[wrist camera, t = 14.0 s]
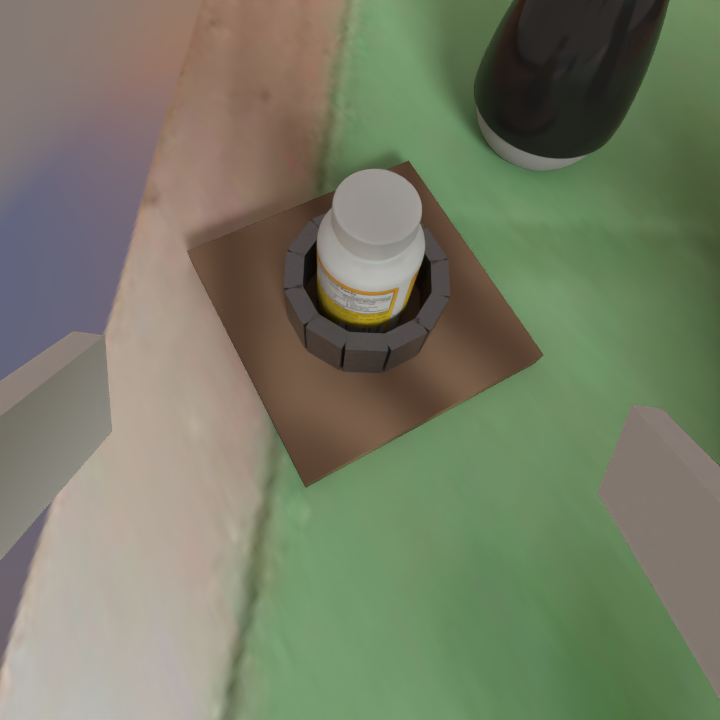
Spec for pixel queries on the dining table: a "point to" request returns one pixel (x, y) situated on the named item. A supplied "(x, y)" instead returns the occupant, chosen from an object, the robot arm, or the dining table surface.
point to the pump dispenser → (563, 76)
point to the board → (337, 388)
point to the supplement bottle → (369, 251)
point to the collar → (356, 346)
